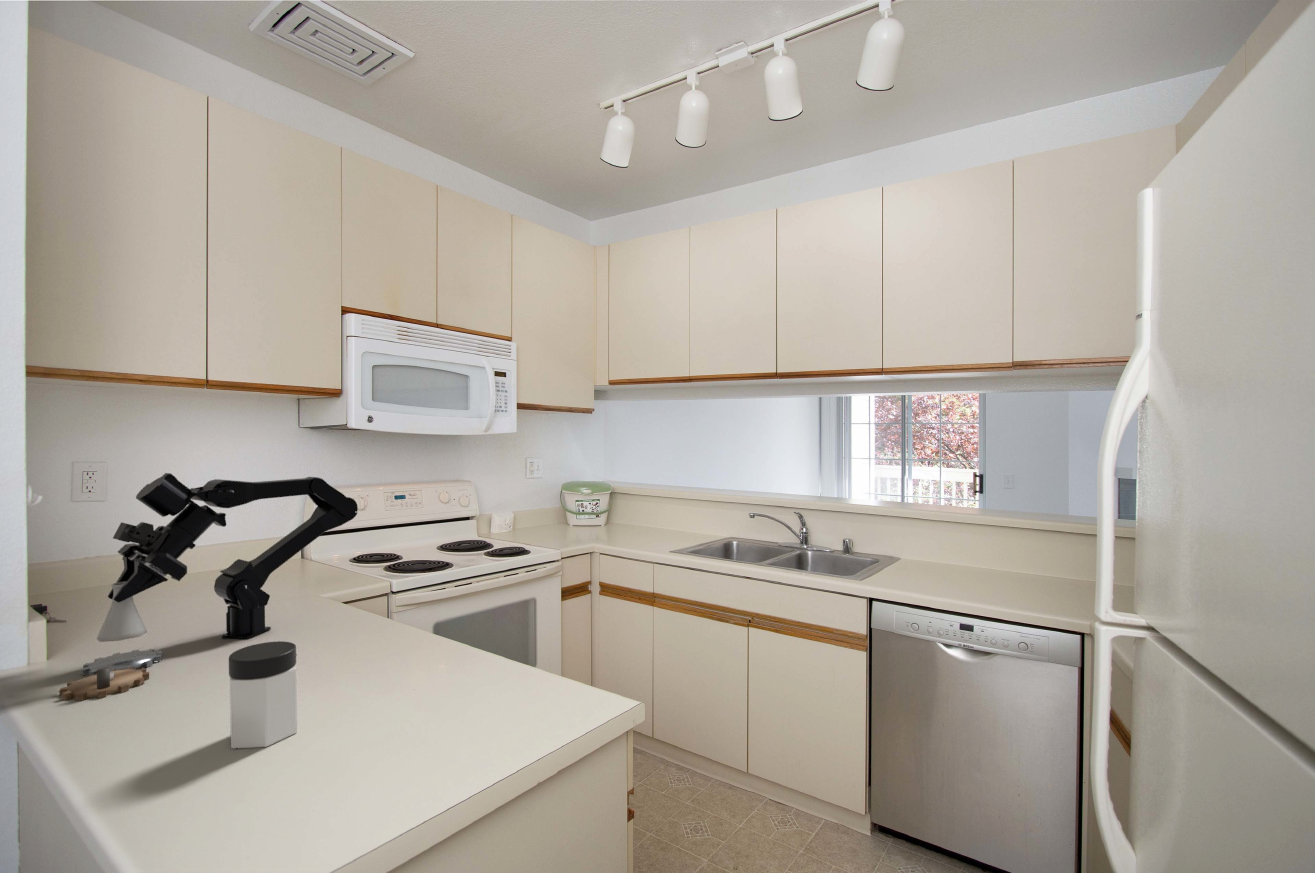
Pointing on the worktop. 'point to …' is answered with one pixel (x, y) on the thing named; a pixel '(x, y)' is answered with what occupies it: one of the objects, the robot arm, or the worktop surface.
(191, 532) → the robot arm
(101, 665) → the gear
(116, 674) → the drive gear
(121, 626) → the flask
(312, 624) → the worktop surface
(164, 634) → the worktop surface
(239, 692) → the jar
